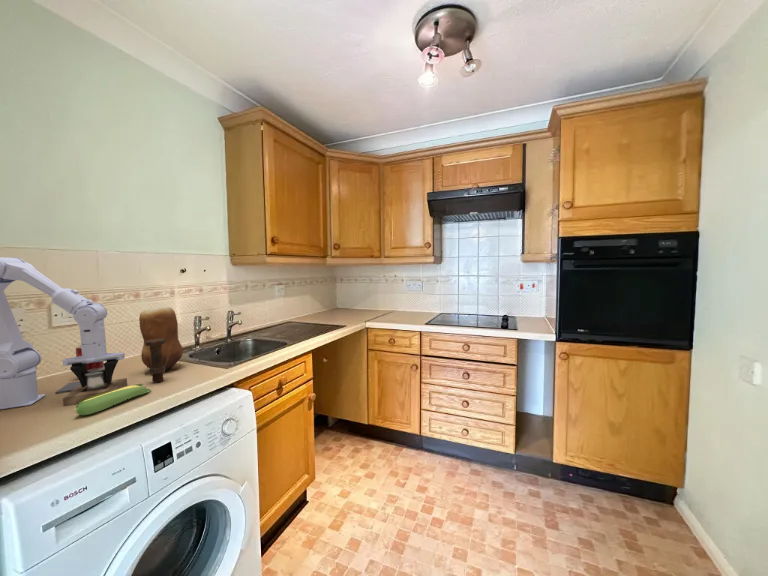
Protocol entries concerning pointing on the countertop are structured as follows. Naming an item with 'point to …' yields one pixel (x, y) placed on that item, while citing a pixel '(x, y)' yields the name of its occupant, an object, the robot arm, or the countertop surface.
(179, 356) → the butternut squash
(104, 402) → the edible corn
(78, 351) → the soda can
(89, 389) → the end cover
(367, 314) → the countertop surface
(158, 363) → the bolt
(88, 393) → the wooden square frame
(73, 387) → the rest mat
